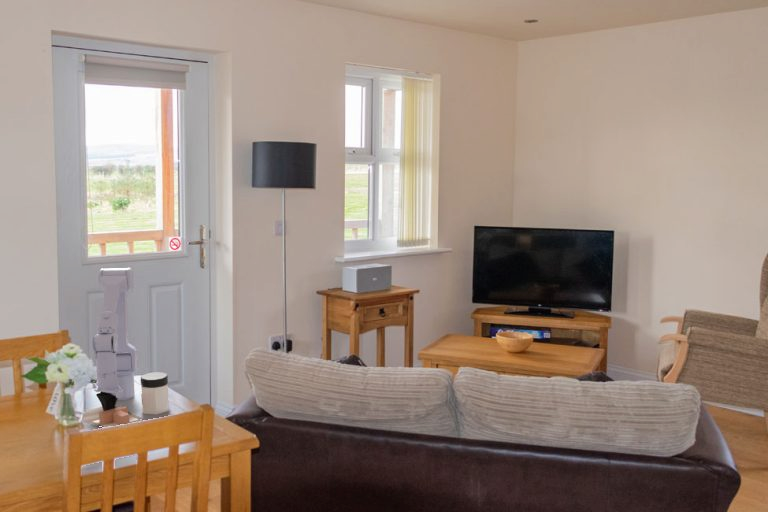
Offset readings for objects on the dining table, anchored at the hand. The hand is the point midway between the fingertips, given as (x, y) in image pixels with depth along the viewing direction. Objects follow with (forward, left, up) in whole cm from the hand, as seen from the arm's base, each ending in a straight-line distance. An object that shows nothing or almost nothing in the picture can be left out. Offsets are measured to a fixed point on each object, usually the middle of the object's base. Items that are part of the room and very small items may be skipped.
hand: (109, 415), depth 242 cm
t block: (+5, 0, -1) cm, 5 cm away
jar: (+4, +14, -2) cm, 14 cm away
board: (-1, 0, -2) cm, 2 cm away
